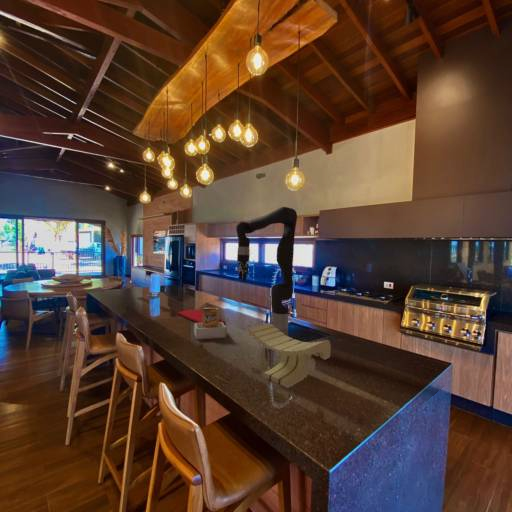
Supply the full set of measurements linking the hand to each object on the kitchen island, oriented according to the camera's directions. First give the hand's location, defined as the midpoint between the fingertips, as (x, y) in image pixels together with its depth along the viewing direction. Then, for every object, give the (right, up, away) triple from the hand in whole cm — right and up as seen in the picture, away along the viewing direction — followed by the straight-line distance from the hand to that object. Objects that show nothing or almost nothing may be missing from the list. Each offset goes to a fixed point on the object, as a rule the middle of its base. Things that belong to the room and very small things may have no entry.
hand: (242, 279), depth 172 cm
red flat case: (-31, -31, +25) cm, 50 cm away
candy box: (-19, -31, -10) cm, 38 cm away
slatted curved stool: (+21, -35, -58) cm, 71 cm away
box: (-19, -32, -10) cm, 38 cm away
